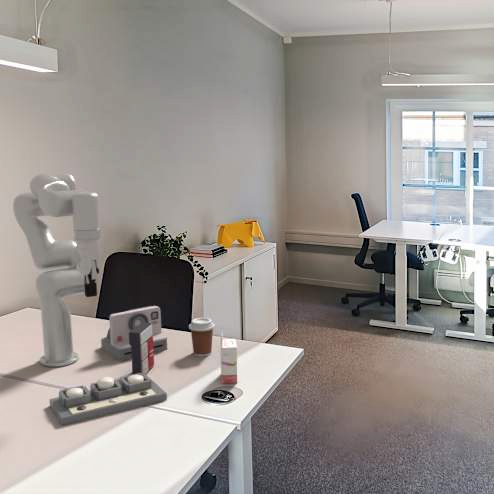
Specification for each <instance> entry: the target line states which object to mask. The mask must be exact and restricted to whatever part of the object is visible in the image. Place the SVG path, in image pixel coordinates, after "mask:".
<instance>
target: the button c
mask: <svg viewBox="0 0 494 494" xmlns="http://www.w3.org/2000/svg"><path fill="white" fill-rule="evenodd" d="M131 375H132V376H129V377H128V383H129V384H133V383H138V382H142V381H143V376H142V375H133V374H131Z"/></svg>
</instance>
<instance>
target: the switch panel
mask: <svg viewBox="0 0 494 494" xmlns="http://www.w3.org/2000/svg"><path fill="white" fill-rule="evenodd" d="M132 375H142V376H143V381H142V382H138V383H133V384H129V383H128V377H129V376H132ZM72 388H81V389H83V395H80V396H75V397H71V398H67V397H66V391H67V390H69V389H72ZM89 388H90V389H88V388H87V386H86V385H79V386H78V385H77V386H72V387H69V388H65V389H60V390H59V391H58V397H54V398H53V397H52V398H49V406H50V408H51V410H52V412H53V413H54V414H55V416H56V418H57V419H58V421H59V423H60V425H61V426H65V425H69V424H73V423H77V422H81V421H85V420H90V419H94V418H98V417H102V416H106V415H109V414H110V415H111V414H113V413H118V412H123V411H126V410H131V409H135V408H139V407H143V406H147V405H150V404H153V403H154V404H155V403H158V402H163V401H166V400H167V398H168V395H167V392H166V391H165V390H164V389H162V387H160V385H158V384H157V383H156V382H155V381H154V380H153V379H152V378H151V377H149V376H148V375H147V373H146V374H144V373H137V374H129V375H124V376H121V377H120V379H119V381H117V379H114V388H111V389H107V390H102V391H100V390H98V382H97V381H96V382H92V383H90V385H89Z"/></svg>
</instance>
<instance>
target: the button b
mask: <svg viewBox="0 0 494 494" xmlns="http://www.w3.org/2000/svg"><path fill="white" fill-rule="evenodd" d="M114 380H115V379H114V377H111V376H105V377H104V376H103V377H99V378H98V379H97V381H96V382H98V390H100V391H102V390H107V389H111V388H114Z"/></svg>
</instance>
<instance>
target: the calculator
mask: <svg viewBox="0 0 494 494" xmlns="http://www.w3.org/2000/svg"><path fill="white" fill-rule="evenodd" d="M129 344H130V346H131V353H132V358H131V371H132V373H131V375H133V374H137V373H144V374H146V375H147V373H148V372H149V371H150V370H151V369H152V368H153V367H154V366H155V353H154V347H153V337H152V325H151V323H140V324H139V325H138V326H136V327H135V328H134V329H133V330H131V331H130V332H129Z"/></svg>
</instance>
